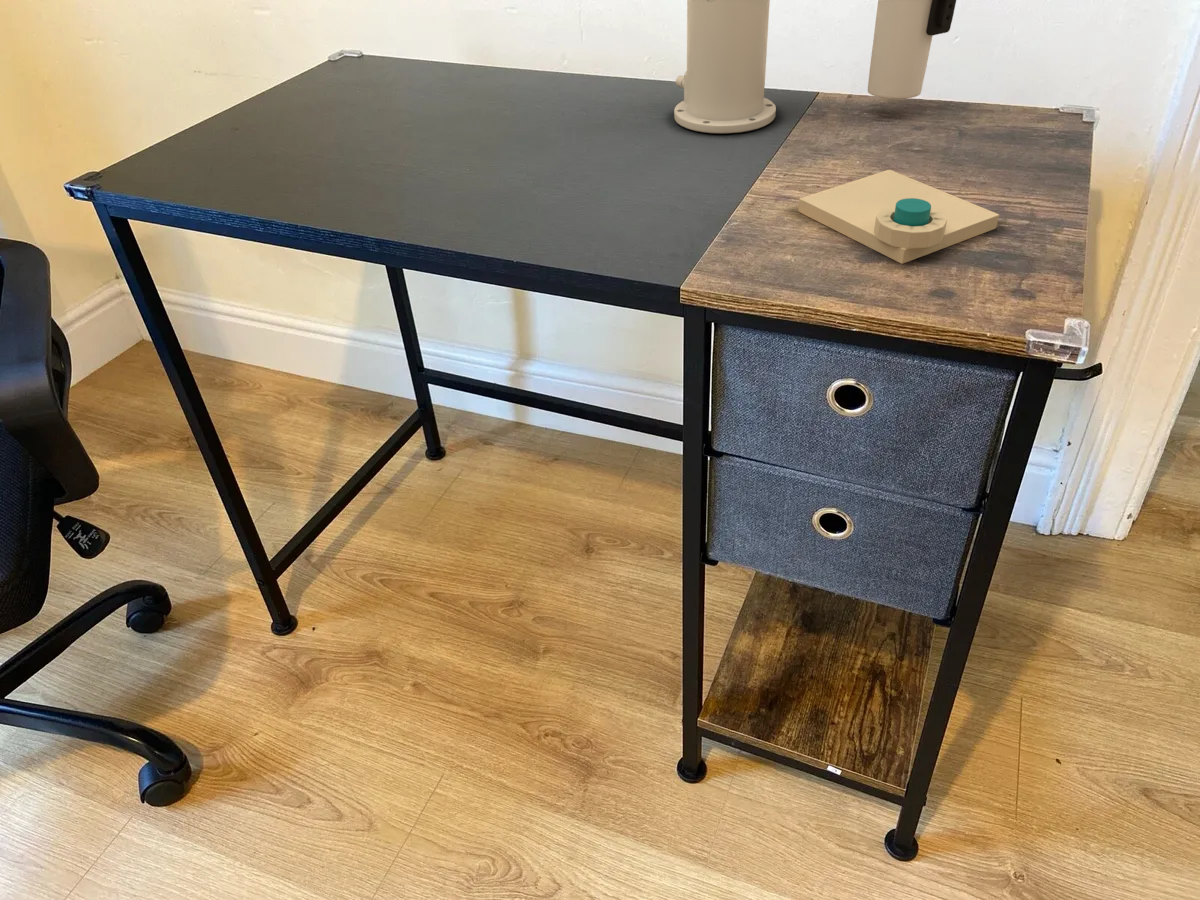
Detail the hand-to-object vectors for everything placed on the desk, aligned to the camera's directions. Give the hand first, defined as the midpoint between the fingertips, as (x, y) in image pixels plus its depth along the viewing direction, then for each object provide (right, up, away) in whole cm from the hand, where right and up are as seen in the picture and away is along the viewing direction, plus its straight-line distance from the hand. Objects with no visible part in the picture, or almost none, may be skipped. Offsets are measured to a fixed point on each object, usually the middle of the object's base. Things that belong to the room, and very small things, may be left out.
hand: (913, 25), depth 103 cm
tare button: (-9, -29, -24) cm, 39 cm away
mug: (0, -6, +5) cm, 8 cm away
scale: (-8, -28, -18) cm, 34 cm away
